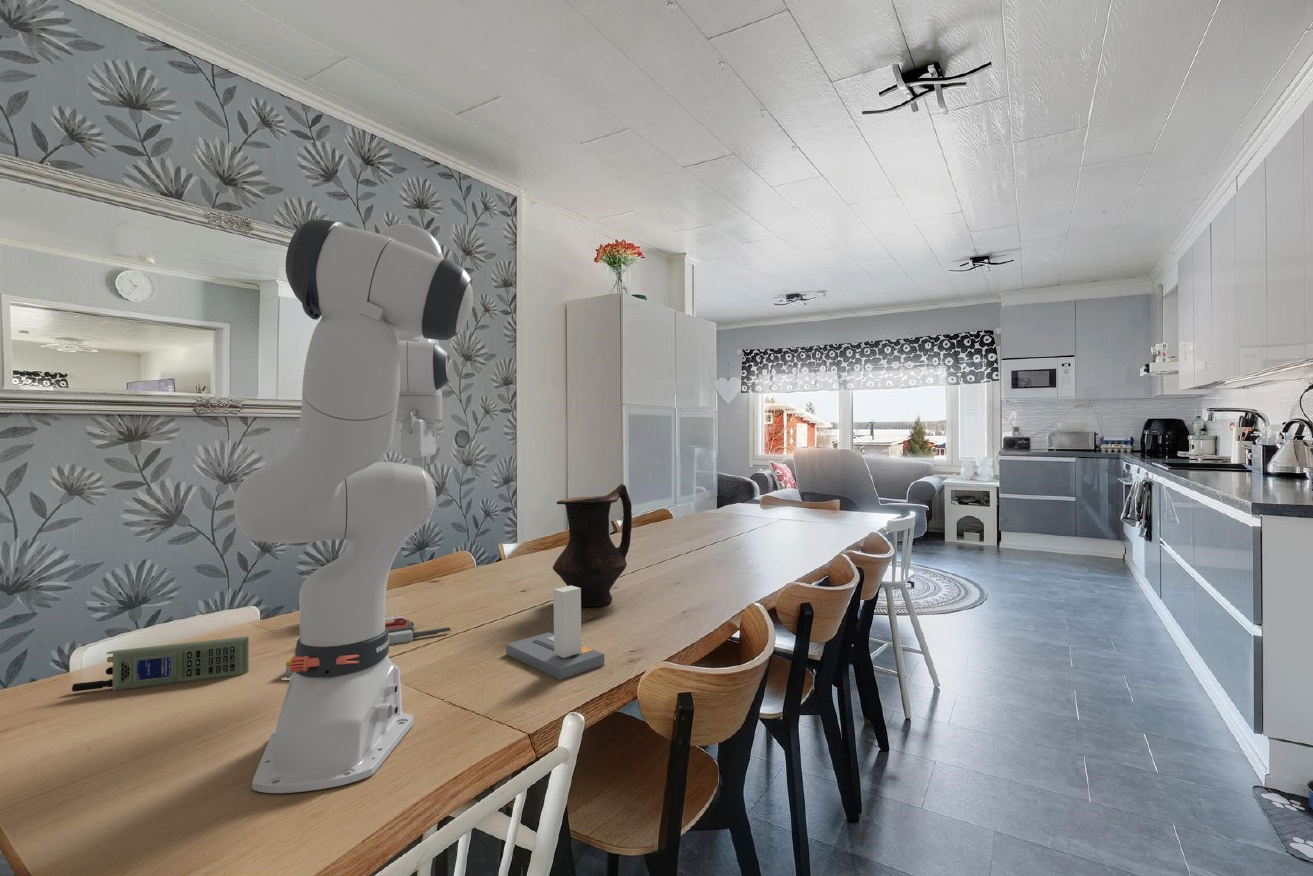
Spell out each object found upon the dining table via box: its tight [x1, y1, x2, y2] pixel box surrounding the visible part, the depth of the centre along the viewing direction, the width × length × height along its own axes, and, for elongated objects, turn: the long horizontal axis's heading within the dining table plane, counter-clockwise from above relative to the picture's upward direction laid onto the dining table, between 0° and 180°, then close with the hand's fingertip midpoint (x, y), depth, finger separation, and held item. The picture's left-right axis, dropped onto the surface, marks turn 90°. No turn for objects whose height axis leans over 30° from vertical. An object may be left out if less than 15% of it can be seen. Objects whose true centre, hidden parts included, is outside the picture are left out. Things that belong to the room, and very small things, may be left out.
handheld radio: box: [71, 635, 250, 693], centre depth 107 cm, size 7×3×25 cm
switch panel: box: [505, 632, 605, 681], centre depth 116 cm, size 18×10×2 cm, turn 45°
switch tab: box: [553, 585, 582, 658], centre depth 113 cm, size 3×4×12 cm
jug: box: [552, 483, 633, 607], centre depth 156 cm, size 21×18×30 cm
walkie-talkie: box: [385, 615, 452, 645], centre depth 130 cm, size 9×4×20 cm
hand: (420, 479), depth 123 cm, fingers closed
